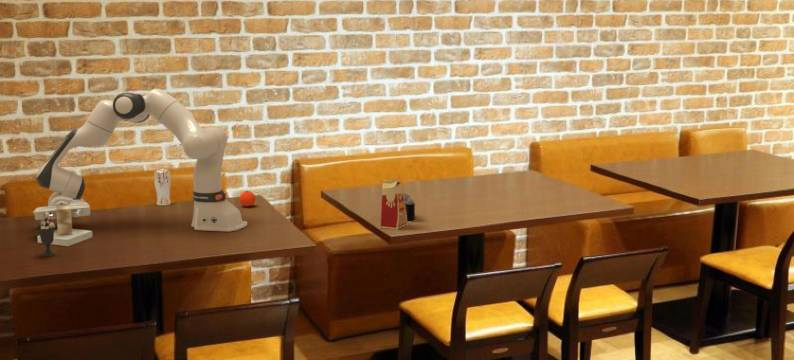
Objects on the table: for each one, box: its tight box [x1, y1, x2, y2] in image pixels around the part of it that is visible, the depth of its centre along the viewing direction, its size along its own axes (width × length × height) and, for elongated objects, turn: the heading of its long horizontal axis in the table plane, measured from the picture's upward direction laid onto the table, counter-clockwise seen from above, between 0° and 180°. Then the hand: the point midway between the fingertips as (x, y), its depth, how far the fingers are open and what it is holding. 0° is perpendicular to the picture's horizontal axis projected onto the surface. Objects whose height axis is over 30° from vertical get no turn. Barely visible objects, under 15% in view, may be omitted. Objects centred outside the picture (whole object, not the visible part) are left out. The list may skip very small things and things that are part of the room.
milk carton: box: [379, 177, 408, 231], centre depth 378 cm, size 9×9×20 cm
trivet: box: [36, 228, 93, 247], centre depth 361 cm, size 14×14×2 cm
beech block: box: [56, 206, 73, 236], centre depth 359 cm, size 5×5×10 cm
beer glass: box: [153, 168, 172, 206], centre depth 419 cm, size 7×7×15 cm
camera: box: [403, 192, 416, 222], centre depth 394 cm, size 15×7×10 cm, turn 33°
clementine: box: [239, 190, 257, 208], centre depth 415 cm, size 8×7×7 cm
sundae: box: [35, 213, 57, 257], centre depth 340 cm, size 7×7×15 cm
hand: (63, 216), depth 358 cm, fingers open, 8 cm apart
